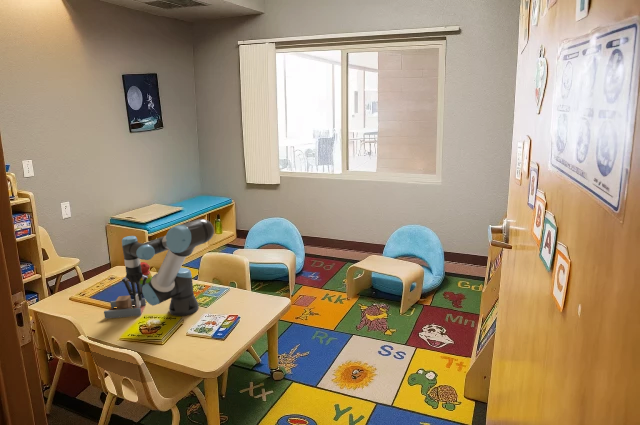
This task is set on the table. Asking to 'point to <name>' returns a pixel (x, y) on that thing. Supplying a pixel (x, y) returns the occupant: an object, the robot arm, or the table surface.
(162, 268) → the robot arm
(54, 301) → the table surface
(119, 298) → the walnut block
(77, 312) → the table surface
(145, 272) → the stacking bear
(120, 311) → the trap trough
